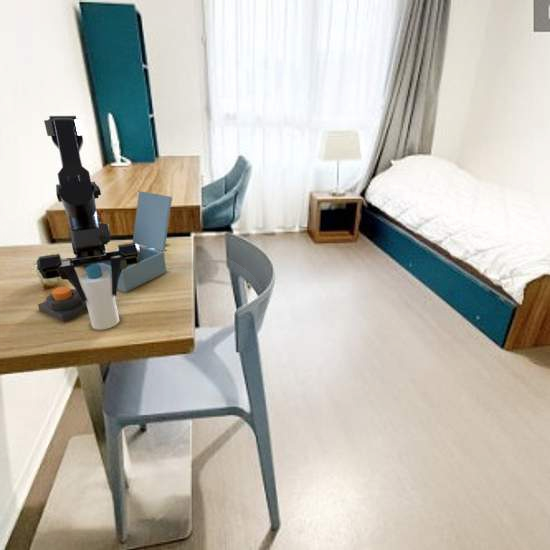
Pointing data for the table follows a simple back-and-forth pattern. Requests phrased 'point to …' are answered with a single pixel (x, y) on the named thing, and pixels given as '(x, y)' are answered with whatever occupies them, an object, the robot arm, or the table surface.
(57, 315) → the control block
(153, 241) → the blue-grey box lid
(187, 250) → the table surface
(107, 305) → the detergent bottle
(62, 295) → the button
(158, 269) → the blue open box
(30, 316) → the table surface
